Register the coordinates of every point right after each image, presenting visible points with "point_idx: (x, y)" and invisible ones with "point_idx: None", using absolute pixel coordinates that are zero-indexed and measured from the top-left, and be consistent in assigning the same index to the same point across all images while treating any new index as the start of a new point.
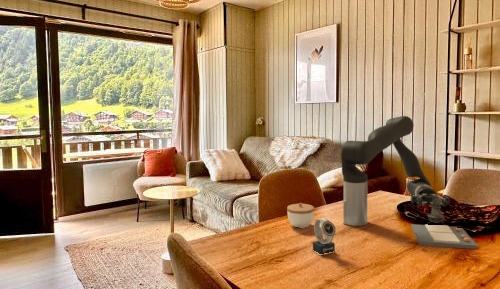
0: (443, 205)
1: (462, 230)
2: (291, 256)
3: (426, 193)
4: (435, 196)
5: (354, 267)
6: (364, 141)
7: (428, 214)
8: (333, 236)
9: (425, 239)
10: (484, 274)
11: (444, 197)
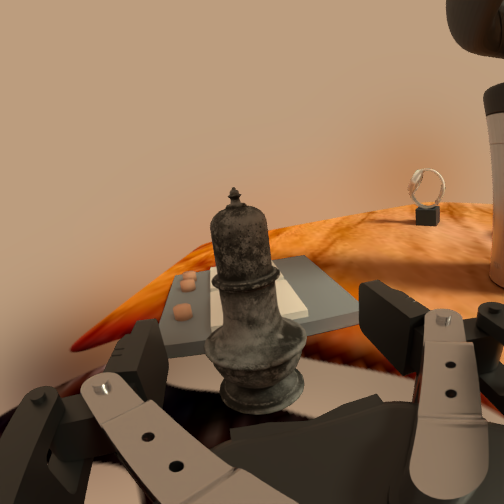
0: (165, 365)
1: (165, 323)
2: (443, 214)
3: (430, 492)
4: (240, 203)
5: (367, 221)
6: None
7: (301, 338)
8: (409, 192)
9: (292, 262)
10: (206, 248)
11: (33, 480)
